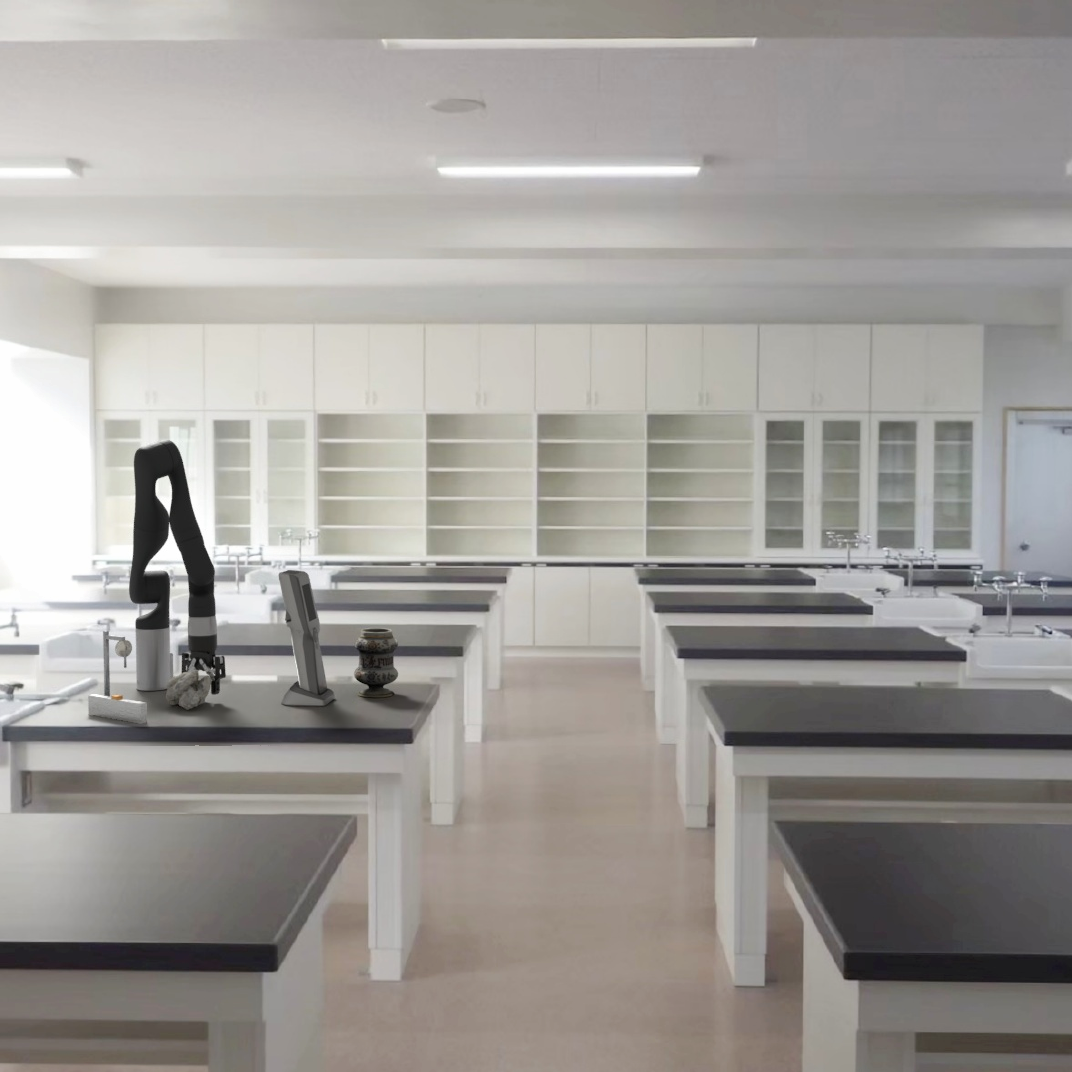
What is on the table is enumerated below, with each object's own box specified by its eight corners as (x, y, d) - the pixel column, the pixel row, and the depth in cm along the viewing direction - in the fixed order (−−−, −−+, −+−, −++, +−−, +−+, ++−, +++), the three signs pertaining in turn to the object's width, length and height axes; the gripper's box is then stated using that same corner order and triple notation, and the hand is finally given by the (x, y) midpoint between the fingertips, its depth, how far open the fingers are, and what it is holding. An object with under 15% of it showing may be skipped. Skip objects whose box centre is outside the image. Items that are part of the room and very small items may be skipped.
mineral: (220, 689, 343) (201, 657, 341) (219, 698, 326) (199, 664, 325) (179, 713, 340) (160, 681, 339) (176, 723, 323) (155, 689, 322)
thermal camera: (290, 697, 344) (288, 569, 342) (336, 698, 343) (335, 569, 341) (277, 705, 333) (275, 573, 331) (325, 706, 332) (324, 573, 329)
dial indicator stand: (109, 701, 338) (107, 628, 337) (136, 705, 332) (134, 632, 331) (90, 704, 333) (88, 631, 332) (117, 709, 327) (115, 634, 326)
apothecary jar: (395, 698, 342) (394, 632, 341) (350, 698, 343) (350, 632, 342) (400, 690, 355) (400, 626, 353) (358, 690, 355) (357, 626, 354)
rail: (94, 713, 323) (94, 690, 322) (147, 722, 312) (146, 699, 311) (88, 714, 321) (88, 692, 321) (140, 724, 310) (140, 700, 310)
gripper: (231, 632, 338) (233, 693, 339) (194, 629, 345) (195, 687, 347) (210, 636, 331) (212, 697, 333) (173, 632, 339) (174, 692, 340)
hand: (203, 692), depth 340 cm, fingers open, 8 cm apart
